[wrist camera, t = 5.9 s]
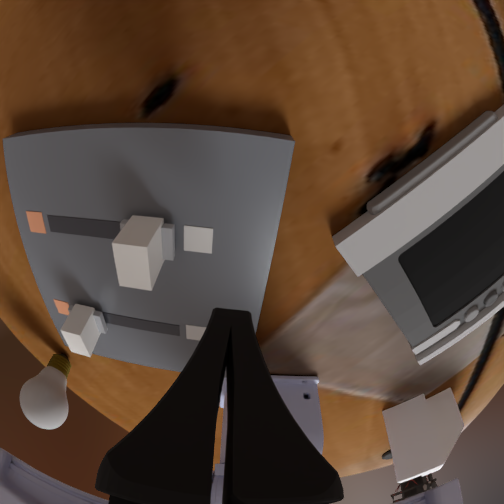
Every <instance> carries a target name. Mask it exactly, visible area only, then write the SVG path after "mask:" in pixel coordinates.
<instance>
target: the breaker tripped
mask: <svg viewBox="0 0 504 504" xmlns="http://www.w3.org/2000/svg"><path fill="white" fill-rule="evenodd" d="M120 230H121V231H120V232H119V234H118V235H117V236H116V238H115V239H114V241H113V242H112V248H113V254H114V260H115V265H116V271H117V276H118V281H119V286H124V287H130V288H136V289H143V290H149V291H152V289H153V286H154V284H155V282H156V279H157V277H158V274H159V272H160V270H161V267H162V265H163V263H164V260H172V261H173V260H174V257H175V224H167V223H164V218H157V217H146V216H136V215H132V217H131V218H130V219H129V220H126V219H123V220H122V221H121V223H120Z"/></svg>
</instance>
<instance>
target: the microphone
mask: <svg viewBox="0 0 504 504" xmlns="http://www.w3.org/2000/svg"><path fill="white" fill-rule="evenodd" d="M382 458H383V459H392V453H391V450H390V451H388V452H386V453H385V454H384V455H383V456H382ZM428 479H429V481H427V478H426V475H425V476H423V477H422V476H419V477H416V478H413V479H411V480H408V481H405V482H402V483H399V484H400V485H401V490H402V491H401V492H398V493H395V494H392V495H391V497H392V498H393V499H394V496H396V495H399V494H402V497H403V498H402V499H398V500H395V501H393V503H395V502H398V501H401V500H405V499H406V498H408V497H411V496H414V495H417V494H419V493H422V492H425V491H427V490H430V489H432V488H435V487H438V486H437V484H436V482H435V481H436V479H433V478H432V474H431V473H430V474H428ZM400 485H399V486H400ZM399 486H398V487H399ZM397 489H398V488H397Z"/></svg>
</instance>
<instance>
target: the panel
mask: <svg viewBox="0 0 504 504" xmlns="http://www.w3.org/2000/svg"><path fill="white" fill-rule="evenodd" d="M294 144H295V141H294V139H293V138H292V136H290V135H284V134H278V133H271V132H264V131H257V130H249V129H240V128H231V127H220V126H209V125H194V124H174V123H107V124H88V125H75V126H64V127H54V128H46V129H38V130H31V131H25V132H19V133H15V134H13V135H11V136H8V137H6V138H4V139H3V147H4V156H5V163H6V170H7V177H8V183H9V188H10V193H11V198H12V203H13V207H14V212H15V216H16V220H17V224H18V227H19V231H20V235H21V238H22V242H23V245H24V248H25V251H26V254H27V257H28V260H29V263H30V266H31V269H32V272H33V275H34V277H35V280H36V283H37V285H38V288H39V290H40V293H41V295H42V297H43V300H44V302H45V305H46V307H47V309H48V311H49V314H50V316H51V318H52V320H53V322H54V324H55V326H56V328H57V330H58V332H59V334H60V336H61V338H62V340H63V342H64V344H65V346H68V344H67V342H66V340H65V339H64V337H63V335H62V333H61V328H62V326H63V324H64V322H65V321H66V319H67V317H68V315H69V314H70V313H69V311H68V308H69V306H70V305H73V306H74V305H75V304H80V305H84V306H89V307H93V308H95V311H100V312H102V313H103V317H104V320H105V323H106V326H107V329H108V330H107V332H106V334H104V333H101V334H100V336H99V338H98V341H97V343H96V345H95V347H94V350H93V352H92V353H93V354H96V355H100V356H104V357H108V358H112V359H116V360H121V361H125V362H130V363H134V364H139V365H144V366H149V367H155V368H160V369H166V370H172V371H178V372H182V370H183V369H184V367H185V365H186V364H187V362H188V361H189V359H190V357H191V356H192V354H193V352H194V351H195V349H196V347H197V345H198V343H199V341H200V339H201V338H202V336H203V334H204V331H205V329H206V327H207V325H208V322H209V320H210V317H211V314H212V310H213V309H214V308H216V307H217V308H226V309H235V310H244V311H249V312H250V313H251V315H252V322H253V326H254V330H255V334H256V330H257V325H258V321H259V316H260V312H261V307H262V302H263V298H264V293H265V289H266V284H267V279H268V274H269V270H270V265H271V260H272V255H273V251H274V246H275V241H276V236H277V231H278V226H279V221H280V216H281V211H282V206H283V201H284V196H285V191H286V186H287V181H288V175H289V170H290V165H291V160H292V154H293V149H294ZM132 215H136V216H146V217H157V218H164V223H167V224H175V257H174V260H173V261H172V260H164V263H163V265H162V267H161V270H160V272H159V274H158V277H157V279H156V282H155V284H154V286H153V289H152V291H149V290H143V289H136V288H130V287H124V286H119V281H118V276H117V271H116V265H115V260H114V254H113V248H112V242H113V241H114V239H115V238H116V236H117V235H118V234H119V232H120V231H121V230H120V223H121V221H122V220H123V219H126V220H129V219H130V218H131V217H132ZM68 347H69V346H68ZM224 378H226V370H225V376H224Z"/></svg>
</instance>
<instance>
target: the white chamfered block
mask: <svg viewBox="0 0 504 504" xmlns="http://www.w3.org/2000/svg"><path fill="white" fill-rule="evenodd" d="M382 413H383V417H384V421H385V425H386V430H387V434H388V439H389V443H390V448H391V453H392V458H393V463H394V467H395V474H396V479H397V482H398V483H402V482H405V481H408V480H411V479H413V478H416V477H419V476H422V477H423V476H425V475H428V474H430V473H432V472H435V471H437V470H439V469H441V467H442V466H443V465H444V463H445V461H446V459H447V457H448V455H449V454H450V452H451V450H452V449H453V446H454V445H455V443H456V441H457V439H458V437H459V435H460V433H461V431H462V429H463V427H464V423H463V420H462V417H461V414H460V412H459V409H458V406H457V403H456V400H455V398H454V395H453V392H452V390H451V387H450V388H448V389H446V390H444V391H442V392H440V393H438V394H436V395H434V396H432V397H430V398H428V399H425V396H424V393H423V394H421V395H419V396H417V397H415V398H413V399H410V400H408V401H406V402H403V403H401V404H399V405H396V406H394V407H391V408H389V409H386V410H384V411H382Z"/></svg>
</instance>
